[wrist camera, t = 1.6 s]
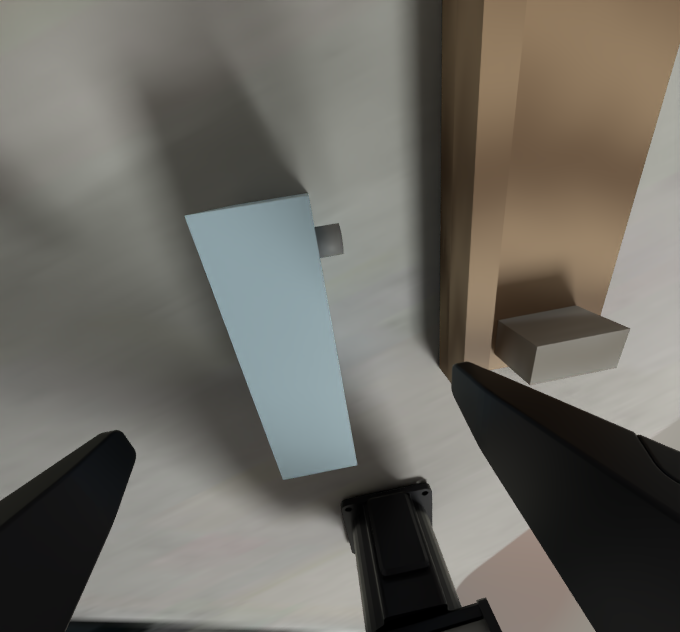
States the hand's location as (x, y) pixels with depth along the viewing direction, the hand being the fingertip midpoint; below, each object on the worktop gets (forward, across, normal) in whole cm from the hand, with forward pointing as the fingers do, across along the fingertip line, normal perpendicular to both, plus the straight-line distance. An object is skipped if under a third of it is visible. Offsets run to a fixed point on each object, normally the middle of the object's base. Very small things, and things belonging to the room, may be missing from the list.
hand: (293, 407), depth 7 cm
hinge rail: (+6, -11, -4) cm, 13 cm away
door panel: (+6, 0, 0) cm, 7 cm away
